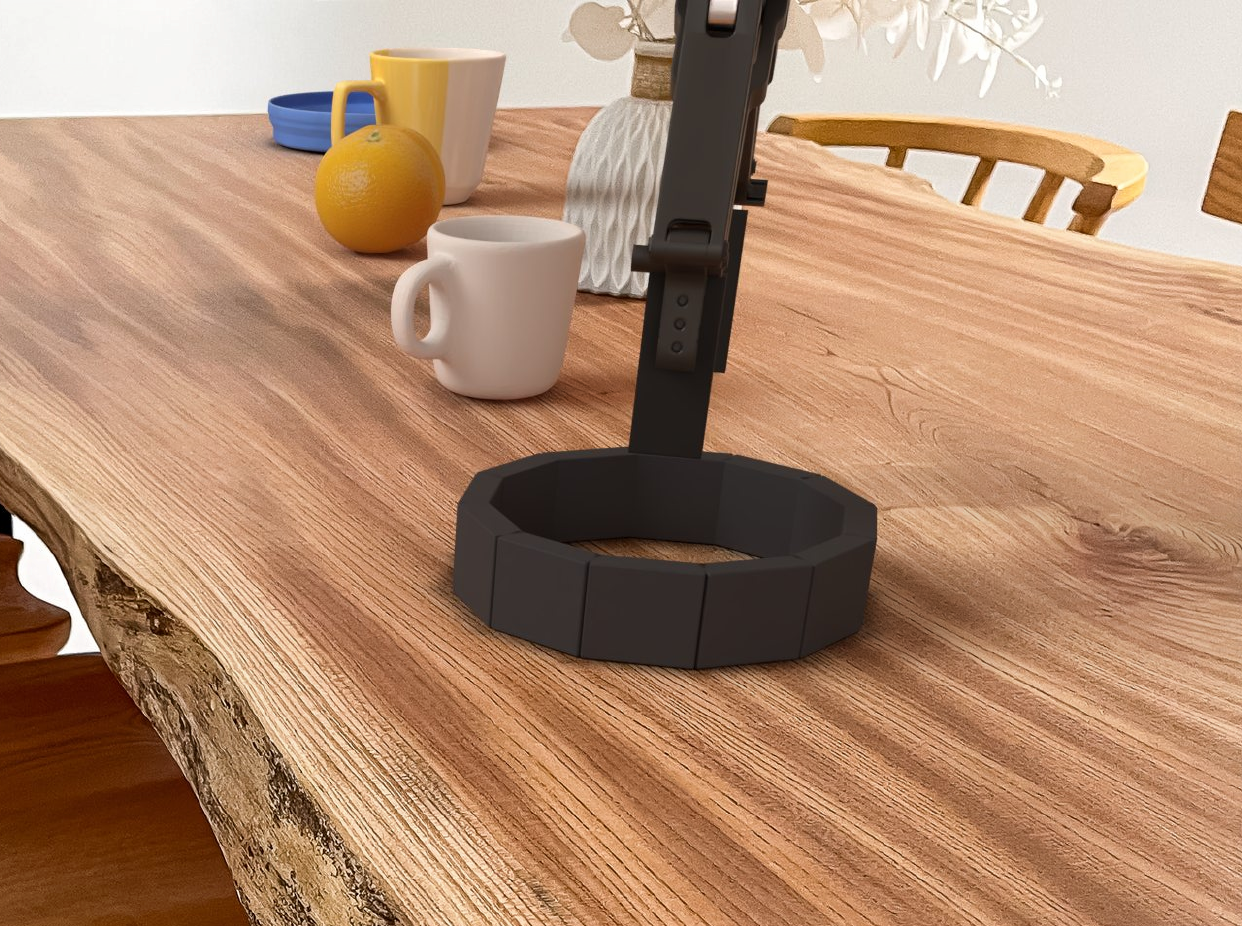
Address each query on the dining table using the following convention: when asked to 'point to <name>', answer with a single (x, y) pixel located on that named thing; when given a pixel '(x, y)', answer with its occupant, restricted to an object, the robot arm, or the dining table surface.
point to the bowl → (316, 118)
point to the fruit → (380, 189)
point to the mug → (434, 104)
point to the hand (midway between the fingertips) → (680, 409)
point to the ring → (663, 589)
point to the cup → (493, 303)
